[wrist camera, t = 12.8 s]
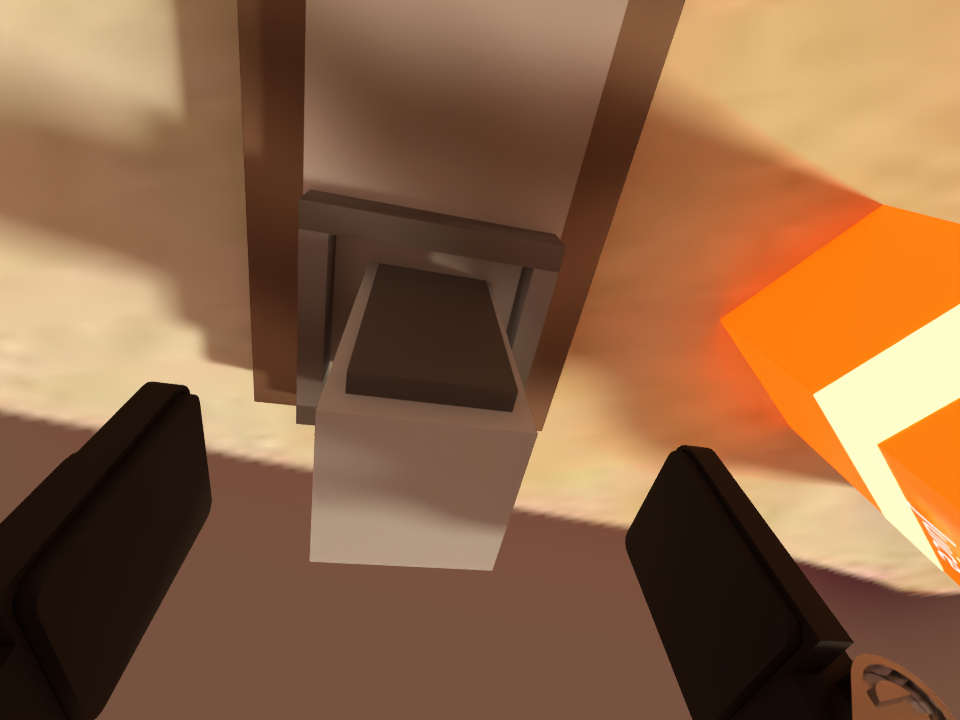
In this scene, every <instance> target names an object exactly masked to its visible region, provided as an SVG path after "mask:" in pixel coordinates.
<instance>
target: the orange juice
mask: <svg viewBox="0 0 960 720" xmlns="http://www.w3.org/2000/svg"><path fill="white" fill-rule="evenodd" d="M720 321H721V322H722V324H723V325H724V327H725V329H726V330H727V332H728V333H729V335H730V336H731V338H732V339H733V341H734V342H735V344H736V345H737V347H738V348H739V350H740V351H741V353H742V354H743V356H744V357H745V359H746V360H747V362H748V363H749V365H750V367H751V368H752V370H753V371H754V373H755V374H756V376H757V377H758V379H759V380H760V382H761V383H762V385H763V386H764V388H765V389H766V391H767V392H768V394H769V395H770V397H771V398H772V400H773V401H774V403H775V405H776V406H777V408H778V409H779V411H780V412H781V414H782V415H783V417H784V418H785V420H786V421H787V423H788V424H789V426H790V427H791V428H792V429H793V430H794V431H795V432H796V433H797V434H798V435H799V436H800V437H801V438H803V439H804V440H805V441H806V442H807V443H808V444H809V445H810V446H811V447H812V448H813V449H814V450H815V451H816V452H817V453H819V454H820V455H821V456H822V457H823V458H824V459H825V460H826V461H827V462H828V463H829V464H830V465H831V466H832V467H834V468H835V469H836V470H837V471H838V472H839V473H840V474H841V475H842V476H843V477H844V478H845V479H846V480H847V481H848V482H850V483H851V484H852V485H853V486H854V487H855V488H856V489H857V490H858V491H859V492H860V493H861V494H862V495H863V496H864V497H866V498H867V499H868V500H869V501H870V502H871V503H872V504H873V505H874V506H875V507H876V508H877V509H878V510H879V511H880V512H882V513H883V515H884V516H885V518H886V519H887V520H889V521H890V522H891V523H892V524H893V525H894V526H895V527H896V528H897V529H898V530H899V531H900V532H901V533H902V534H903V535H904V536H906V537H907V538H908V539H909V540H910V541H911V542H912V543H913V544H914V545H915V546H916V547H917V548H918V549H919V550H920V551H921V552H923V553H924V554H925V555H926V556H927V557H928V558H929V559H930V560H931V561H932V562H933V563H934V564H935V565H936V566H937V567H939V568H940V569H941V570H942V571H945V572H946V573H947V574H948V575H949V576H950V577H951V578H952V579H953V580H954V581H955V582H956V583H957V584H958V585H959V586H960V224H958V223H954V222H950V221H946V220H942V219H938V218H934V217H930V216H926V215H922V214H919V213H915V212H911V211H907V210H903V209H899V208H895V207H891V206H887V205H882V206H880V207H879V208H878V209H876V210H875V211H873V212H872V213H870V214H869V215H868V216H866V217H865V218H863V219H862V220H861V221H859V222H858V223H856V224H855V225H853V226H852V227H851V228H849V229H848V230H846V231H845V232H844V233H842V234H841V235H839V236H838V237H836V238H835V239H834V240H832V241H831V242H829V243H828V244H826V245H825V246H824V247H822V248H821V249H819V250H818V251H817V252H815V253H814V254H812V255H811V256H809V257H808V258H807V259H805V260H804V261H802V262H801V263H800V264H798V265H797V266H795V267H794V268H792V269H791V270H790V271H788V272H787V273H785V274H784V275H782V276H781V277H780V278H778V279H777V280H775V281H774V282H773V283H771V284H770V285H768V286H767V287H765V288H764V289H763V290H761V291H760V292H758V293H757V294H756V295H754V296H753V297H751V298H750V299H748V300H747V301H746V302H744V303H743V304H741V305H740V306H738V307H737V308H736V309H734V310H733V311H731V312H730V313H729V314H727V315H726V316H724V317H723V318H721V319H720Z"/></svg>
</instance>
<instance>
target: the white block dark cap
mask: <svg viewBox="0 0 960 720" xmlns="http://www.w3.org/2000/svg"><path fill="white" fill-rule="evenodd" d="M537 435H538V433H537V430H536V427H535V424H534V420H533V417H532V414H531V411H530V408H529V404H528V401H527V398H526V395H525V391H524V388H523V385H522V382H521V379H520V375H519V372H518V369H517V366H516V363H515V359H514V356H513V353H512V350H511V346H510V343H509V340H508V337H507V334H506V330H505V327H504V324H503V321H502V318H501V314H500V311H499V308H498V305H497V301H496V298H495V295H494V292H493V289H492V285H491V282H489V281H485V280H479V279H473V278H467V277H461V276H455V275H449V274H443V273H437V272H431V271H424V270H418V269H412V268H406V267H400V266H394V265H388V264H382V263H373V262H369V263H368V266H367V269H366V272H365V274H364V277H363V280H362V283H361V286H360V288H359V291H358V294H357V297H356V300H355V302H354V305H353V308H352V311H351V313H350V316H349V319H348V322H347V325H346V327H345V330H344V333H343V336H342V339H341V341H340V344H339V347H338V350H337V353H336V355H335V358H334V361H333V364H332V367H331V369H330V372H329V375H328V378H327V380H326V383H325V386H324V389H323V392H322V394H321V397H320V400H319V403H318V406H317V408H316V417H315V442H314V467H313V492H312V493H313V495H312V519H311V543H310V562H311V561H312V562H331V563H352V564H371V565H372V564H373V565H392V566H412V567H432V568H453V569H472V570H492V569H493V566H494V563H495V560H496V557H497V554H498V551H499V548H500V545H501V542H502V539H503V536H504V533H505V530H506V527H507V524H508V521H509V518H510V515H511V512H512V509H513V506H514V503H515V500H516V497H517V494H518V491H519V488H520V485H521V482H522V479H523V476H524V473H525V470H526V468H527V465H528V462H529V459H530V456H531V453H532V450H533V447H534V444H535V441H536V438H537Z"/></svg>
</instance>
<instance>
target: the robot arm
mask: <svg viewBox="0 0 960 720" xmlns="http://www.w3.org/2000/svg"><path fill="white" fill-rule="evenodd" d="M208 473H209V472H208V464H207V456H206V448H205V440H204V432H203V424H202V416H201V407H200V401H199V398H198V396H197V395H192V394H190V391H189V389H188V387H187V386H184V385H177V384H168V383H160V382H147V383H146V384H145V385H143V386H142V387H141V388H140V389H139V390H138V391H137V392H136V393H135V394H134V395H133V396H132V397H131V398H130V399H129V400H128V401H127V402H126V403H125V404H124V405H123V406H122V407H121V408H120V409H119V410H118V411H117V412H116V413H115V414H114V415H113V416H112V417H111V418H110V420H109V421H108V422H107V423H106V424H105V425H104V426H103V427H102V428H101V429H100V430H99V431H98V432H97V433H96V434H95V435H94V436H93V437H92V438H91V439H90V440H89V441H88V442H87V443H86V444H85V445H84V446H83V447H82V448H81V449H80V450H79V451H78V452H76V453H74V454H72V455H70V456H69V457H68V458H66V459H65V460H64V461H63V462H62V463H61V464H60V465H59V466H58V467H57V468H56V469H55V470H54V471H53V472H52V473H51V474H50V475H49V476H48V477H47V478H46V479H45V480H44V481H43V482H42V483H41V484H40V485H39V486H38V487H37V488H36V489H35V490H34V491H33V492H32V493H31V494H30V495H29V496H28V497H27V498H26V499H25V500H24V501H23V502H22V503H21V504H20V505H19V506H18V507H17V508H16V509H15V510H14V511H13V512H12V513H11V514H10V515H9V516H8V517H7V518H6V519H5V520H4V521H3V522H2V523H0V720H94V719H96V718H97V716H98V715H99V714H100V713H101V712H102V710H103V709H104V707H105V705H106V704H107V702H108V700H109V698H110V696H111V694H112V692H113V690H114V689H115V687H116V685H117V683H118V681H119V680H120V678H121V676H122V674H123V672H124V670H125V668H126V667H127V665H128V663H129V661H130V659H131V657H132V656H133V654H134V652H135V650H136V648H137V646H138V645H139V643H140V641H141V639H142V637H143V635H144V633H145V632H146V630H147V628H148V626H149V624H150V622H151V621H152V619H153V617H154V615H155V613H156V611H157V610H158V608H159V606H160V604H161V602H162V600H163V598H164V597H165V595H166V593H167V591H168V589H169V587H170V586H171V584H172V582H173V580H174V578H175V576H176V574H177V573H178V571H179V569H180V567H181V565H182V563H183V562H184V560H185V558H186V556H187V554H188V552H189V551H190V549H191V547H192V545H193V543H194V541H195V539H196V538H197V536H198V534H199V532H200V530H201V529H202V527H203V525H204V523H205V521H206V519H207V517H208V515H209V512H210V508H211V502H212V498H211V489H210V480H209V474H208ZM625 544H626V550H627V553H628V555H629V558H630V561H631V563H632V566H633V568H634V571H635V573H636V576H637V578H638V581H639V584H640V586H641V589H642V591H643V594H644V597H645V599H646V602H647V604H648V607H649V610H650V612H651V615H652V617H653V620H654V622H655V625H656V627H657V630H658V633H659V635H660V638H661V640H662V643H663V645H664V648H665V651H666V653H667V655H668V658H669V661H670V663H671V666H672V668H673V671H674V674H675V676H676V679H677V681H678V684H679V686H680V689H681V692H682V694H683V697H684V699H685V702H686V704H687V707H688V710H689V712H690V715H691V717H692V719H693V720H955V719H954V717H953V715H952V714H951V712H950V711H949V710H948V708H947V707H946V706H945V705H944V704H943V702H941V700H940V699H939V698H938V697H937V695H936V694H935V693H934V692H932V690H930V689H929V688H928V687H927V686H926V685H925V684H924V683H923V682H922V681H921V680H920V679H918V678H917V677H916V676H914V675H913V674H911V673H910V672H909V671H907V670H906V669H904V668H903V667H902V666H900V665H898V664H896V663H894V662H892V661H890V660H888V659H886V658H883V657H880V656H876V655H872V654H865V655H859V656H858V657H857V658H855V659H854V660H853V661H852V660H851V659H850V658H849V656H848V655H847V653H846V652H845V650H846V649H847V648H848V647H849V646H850V645H851V644H853V641H852V639H851V638H850V637H849V635H848V634H847V632H846V631H845V630H844V628H843V627H842V626H841V625H840V623H839V622H838V620H837V619H836V617H835V616H834V615H833V613H832V612H831V611H830V609H829V608H828V606H827V605H826V604H825V603H824V601H823V600H822V598H821V597H820V596H819V594H818V593H817V591H816V590H815V589H814V588H813V586H812V585H811V583H810V582H809V580H808V579H807V578H806V576H805V575H804V574H803V572H802V571H801V570H800V568H799V567H798V565H797V564H796V563H795V561H794V560H793V559H792V557H791V556H790V554H789V553H788V552H787V550H786V549H785V548H784V546H783V545H782V544H781V542H780V541H779V539H778V538H777V537H776V535H775V534H774V533H773V531H772V530H771V528H770V527H769V526H768V524H767V523H766V522H765V520H764V519H763V518H762V516H761V515H760V513H759V512H758V511H757V509H756V508H755V507H754V505H753V504H752V502H751V501H750V500H749V498H748V497H747V496H746V494H745V493H744V492H743V490H742V489H741V487H740V486H739V485H738V483H737V482H736V481H735V479H734V478H733V476H732V475H731V474H730V472H729V471H728V470H727V468H726V467H725V466H724V464H723V463H722V461H721V460H720V459H719V457H718V456H717V455H716V453H715V452H714V451H713V450H712V449H709V448H705V447H697V446H688V445H681V446H680V447H678V448H677V450H676V451H672V452H671V453H670V454H669V455H668V457H667V459H666V461H665V463H664V465H663V467H662V468H661V470H660V472H659V474H658V476H657V478H656V480H655V482H654V483H653V485H652V487H651V489H650V491H649V493H648V495H647V497H646V498H645V500H644V502H643V504H642V506H641V508H640V510H639V511H638V513H637V515H636V517H635V519H634V521H633V523H632V525H631V526H630V528H629V530H628V532H627V535H626V540H625Z"/></svg>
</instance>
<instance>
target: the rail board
mask: <svg viewBox="0 0 960 720" xmlns="http://www.w3.org/2000/svg"><path fill="white" fill-rule="evenodd" d="M684 3H685V0H237V6H238V29H239V52H240V76H241V99H242V122H243V145H244V169H245V192H246V215H247V238H248V262H249V285H250V308H251V332H252V355H253V378H254V401H256V402H265V403H275V404H285V405H294V406H296V424H305V425H315V417H316V408H317V406H318V403H319V400H320V397H321V394H322V392H323V389H324V386H325V383H326V380H327V378H328V375H329V372H330V369H331V367H332V364H333V361H334V358H335V355H336V353H337V350H338V347H339V344H340V341H341V339H342V336H343V333H344V330H345V327H346V325H347V322H348V319H349V316H350V313H351V311H352V308H353V305H354V302H355V300H356V297H357V294H358V291H359V288H360V286H361V283H362V280H363V277H364V274H365V272H366V269H367V266H368V263H369V262H373V263H382V264H388V265H394V266H400V267H406V268H412V269H418V270H424V271H431V272H437V273H443V274H449V275H455V276H461V277H467V278H473V279H479V280H485V281H489V282H491V285H492V289H493V292H494V295H495V298H496V301H497V305H498V308H499V311H500V314H501V318H502V321H503V324H504V327H505V330H506V334H507V337H508V340H509V343H510V346H511V350H512V353H513V356H514V359H515V363H516V366H517V369H518V372H519V375H520V379H521V382H522V385H523V388H524V391H525V395H526V398H527V401H528V404H529V408H530V411H531V414H532V417H533V420H534V424H535V427H536V430H537V431H542V429H543V426H544V423H545V420H546V417H547V414H548V411H549V408H550V405H551V402H552V399H553V396H554V393H555V390H556V387H557V384H558V381H559V378H560V375H561V372H562V369H563V366H564V363H565V360H566V357H567V354H568V351H569V348H570V345H571V342H572V339H573V336H574V333H575V330H576V327H577V324H578V321H579V318H580V315H581V312H582V309H583V306H584V303H585V300H586V297H587V294H588V291H589V288H590V285H591V282H592V279H593V276H594V273H595V270H596V267H597V264H598V261H599V258H600V255H601V252H602V249H603V246H604V243H605V240H606V237H607V234H608V231H609V228H610V225H611V222H612V219H613V216H614V213H615V210H616V207H617V204H618V201H619V198H620V195H621V192H622V189H623V186H624V183H625V180H626V177H627V174H628V171H629V168H630V165H631V162H632V159H633V156H634V153H635V150H636V147H637V144H638V141H639V138H640V135H641V132H642V129H643V126H644V123H645V120H646V117H647V114H648V111H649V108H650V105H651V102H652V99H653V96H654V93H655V90H656V87H657V84H658V81H659V78H660V75H661V72H662V69H663V66H664V63H665V60H666V57H667V54H668V51H669V48H670V45H671V42H672V39H673V36H674V33H675V30H676V27H677V24H678V21H679V18H680V15H681V12H682V9H683V6H684Z"/></svg>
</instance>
